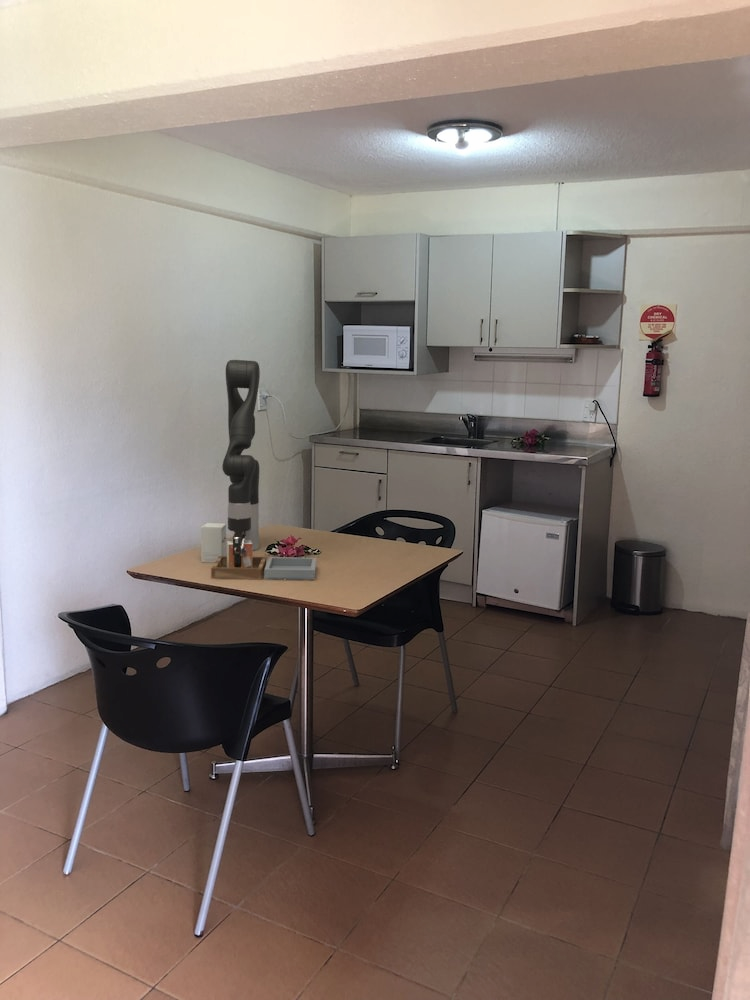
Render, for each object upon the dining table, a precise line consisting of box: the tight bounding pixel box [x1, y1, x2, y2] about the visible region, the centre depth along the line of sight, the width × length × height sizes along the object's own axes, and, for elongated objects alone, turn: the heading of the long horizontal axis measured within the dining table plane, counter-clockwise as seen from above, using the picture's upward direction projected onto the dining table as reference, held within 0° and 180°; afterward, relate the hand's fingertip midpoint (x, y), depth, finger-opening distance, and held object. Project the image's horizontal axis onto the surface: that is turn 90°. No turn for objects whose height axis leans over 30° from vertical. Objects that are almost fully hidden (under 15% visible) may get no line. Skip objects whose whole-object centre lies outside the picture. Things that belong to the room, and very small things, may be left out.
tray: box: [263, 556, 317, 581], centre depth 274 cm, size 16×16×4 cm
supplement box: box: [200, 522, 227, 564], centre depth 288 cm, size 7×7×13 cm
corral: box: [210, 555, 267, 581], centre depth 274 cm, size 16×16×4 cm
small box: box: [226, 540, 254, 568], centre depth 273 cm, size 8×6×10 cm
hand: (239, 563), depth 273 cm, fingers open, 8 cm apart
